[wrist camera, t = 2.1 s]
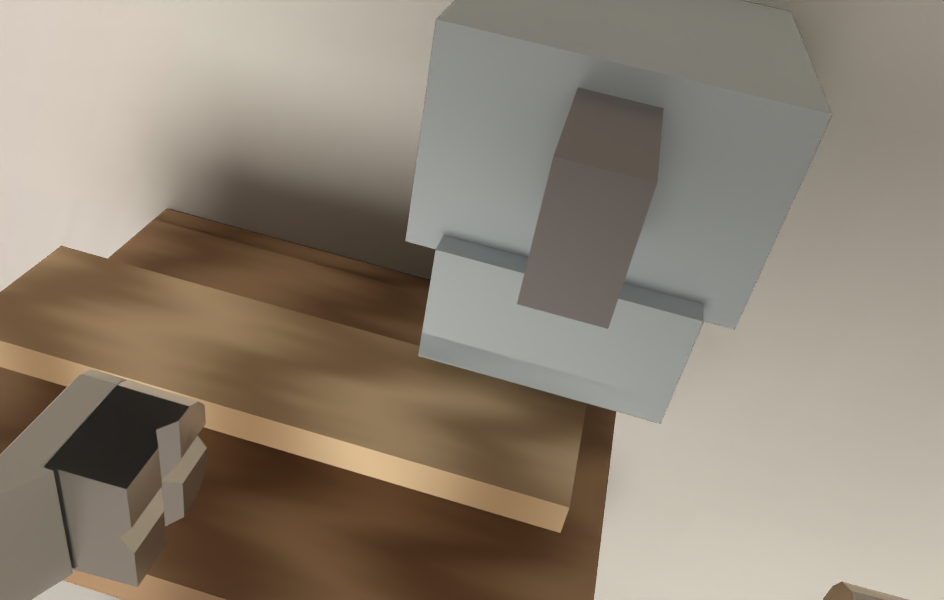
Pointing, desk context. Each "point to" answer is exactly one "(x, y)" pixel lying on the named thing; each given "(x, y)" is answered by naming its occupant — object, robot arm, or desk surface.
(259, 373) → the stepped wooden block
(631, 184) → the grey-blue stepped cube
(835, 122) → the desk surface
